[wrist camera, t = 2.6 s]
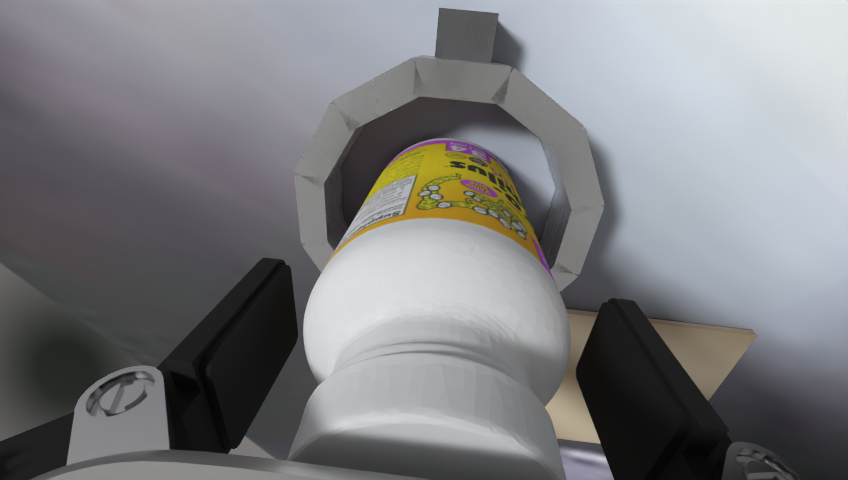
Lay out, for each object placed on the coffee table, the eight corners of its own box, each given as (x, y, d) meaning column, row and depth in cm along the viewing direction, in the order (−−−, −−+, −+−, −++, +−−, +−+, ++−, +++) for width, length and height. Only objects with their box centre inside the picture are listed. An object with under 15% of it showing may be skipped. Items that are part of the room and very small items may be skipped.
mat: (549, 307, 19) (551, 311, 19) (751, 330, 19) (757, 335, 19) (509, 427, 25) (510, 432, 24) (666, 446, 24) (669, 452, 24)
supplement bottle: (540, 217, 17) (711, 556, 6) (431, 281, 19) (399, 611, 8) (460, 99, 15) (480, 277, 3) (348, 188, 17) (139, 468, 6)
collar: (304, -1, 13) (275, -10, 11) (634, 29, 13) (671, 26, 11) (326, 311, 21) (311, 342, 19) (535, 335, 20) (544, 370, 18)
